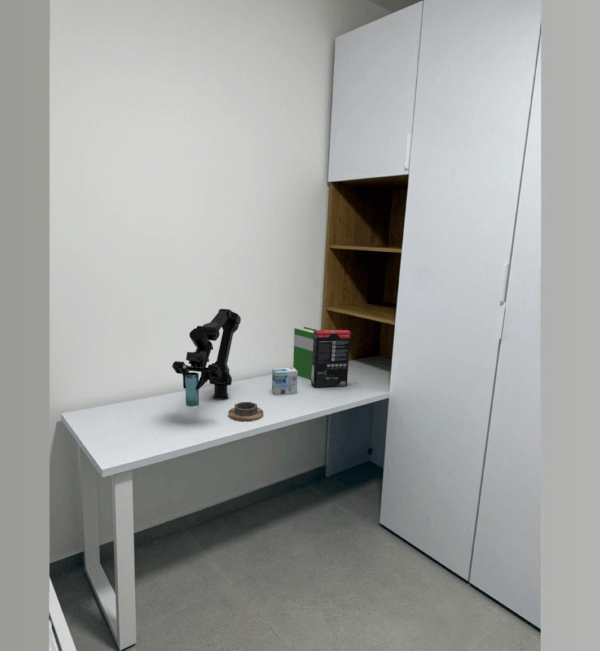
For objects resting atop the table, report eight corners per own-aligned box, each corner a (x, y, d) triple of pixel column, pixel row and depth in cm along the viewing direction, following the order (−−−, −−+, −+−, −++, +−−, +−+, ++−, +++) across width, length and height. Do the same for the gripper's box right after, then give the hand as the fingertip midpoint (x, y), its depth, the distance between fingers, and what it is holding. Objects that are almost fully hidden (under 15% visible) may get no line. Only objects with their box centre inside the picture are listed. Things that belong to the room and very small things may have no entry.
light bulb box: (275, 395, 227) (275, 372, 224) (271, 390, 233) (271, 368, 231) (297, 393, 230) (298, 370, 228) (293, 388, 236) (293, 366, 234)
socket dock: (228, 409, 208) (228, 400, 207) (261, 408, 210) (261, 399, 209) (228, 422, 194) (228, 412, 194) (264, 420, 197) (264, 411, 196)
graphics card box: (343, 382, 248) (346, 328, 243) (348, 386, 242) (351, 331, 236) (310, 384, 244) (312, 329, 238) (314, 388, 237) (316, 332, 232)
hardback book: (293, 373, 260) (294, 328, 255) (303, 371, 265) (304, 326, 260) (316, 382, 247) (318, 334, 243) (327, 379, 252) (329, 332, 248)
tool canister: (184, 402, 194) (184, 373, 192) (197, 401, 196) (197, 371, 194) (187, 407, 190) (186, 376, 187) (200, 405, 192) (199, 375, 189)
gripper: (173, 341, 194) (160, 376, 186) (218, 344, 190) (207, 381, 182) (183, 355, 203) (170, 390, 195) (226, 359, 199) (215, 395, 191)
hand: (190, 388), depth 190 cm, fingers closed on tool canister, 5 cm apart
